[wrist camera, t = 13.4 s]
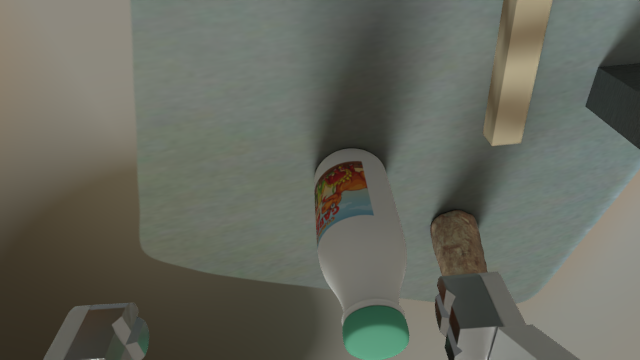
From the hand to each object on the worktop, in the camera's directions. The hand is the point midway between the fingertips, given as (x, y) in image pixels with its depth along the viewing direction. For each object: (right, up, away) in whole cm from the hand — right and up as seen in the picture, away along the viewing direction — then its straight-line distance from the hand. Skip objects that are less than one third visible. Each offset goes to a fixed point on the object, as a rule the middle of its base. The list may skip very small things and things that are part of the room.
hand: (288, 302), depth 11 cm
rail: (+18, +17, +25) cm, 35 cm away
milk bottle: (+4, +4, +34) cm, 34 cm away
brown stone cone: (+17, -2, +39) cm, 42 cm away
